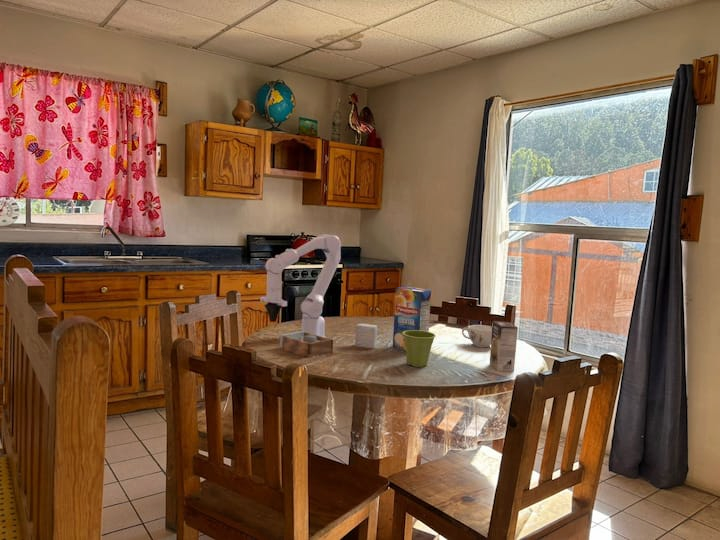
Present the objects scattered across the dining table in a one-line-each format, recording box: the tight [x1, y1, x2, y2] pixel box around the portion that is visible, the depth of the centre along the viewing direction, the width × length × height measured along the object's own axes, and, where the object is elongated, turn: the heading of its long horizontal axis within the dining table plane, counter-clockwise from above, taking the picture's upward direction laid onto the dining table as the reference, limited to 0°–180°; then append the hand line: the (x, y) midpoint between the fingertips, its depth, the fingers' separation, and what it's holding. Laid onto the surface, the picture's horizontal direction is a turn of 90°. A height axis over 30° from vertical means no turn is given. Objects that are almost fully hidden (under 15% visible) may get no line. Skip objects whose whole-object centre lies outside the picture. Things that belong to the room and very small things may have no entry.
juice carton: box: [392, 286, 432, 351], centre depth 218 cm, size 12×8×24 cm, turn 53°
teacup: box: [461, 324, 492, 349], centre depth 230 cm, size 15×12×8 cm
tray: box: [279, 330, 318, 347], centre depth 209 cm, size 15×12×4 cm
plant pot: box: [403, 330, 437, 368], centre depth 196 cm, size 12×12×11 cm
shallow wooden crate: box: [281, 332, 334, 358], centre depth 208 cm, size 16×12×5 cm
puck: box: [303, 335, 317, 343], centre depth 207 cm, size 5×5×4 cm
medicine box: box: [354, 323, 378, 349], centre depth 219 cm, size 8×4×9 cm, turn 71°
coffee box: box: [489, 320, 519, 372], centre depth 197 cm, size 9×6×16 cm
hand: (273, 321), depth 221 cm, fingers closed
